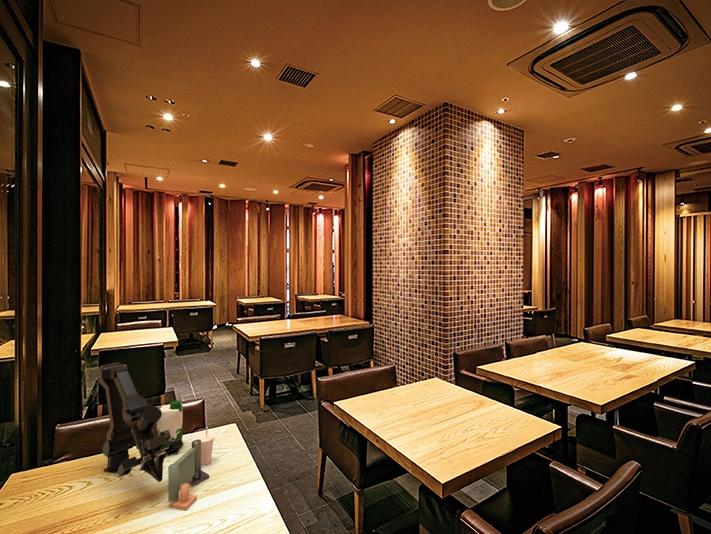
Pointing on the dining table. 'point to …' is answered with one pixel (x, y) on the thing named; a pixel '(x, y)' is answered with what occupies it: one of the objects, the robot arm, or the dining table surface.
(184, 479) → the gate
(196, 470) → the hinge post
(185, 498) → the post
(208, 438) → the smoothie
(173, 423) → the milk carton
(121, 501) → the dining table surface
